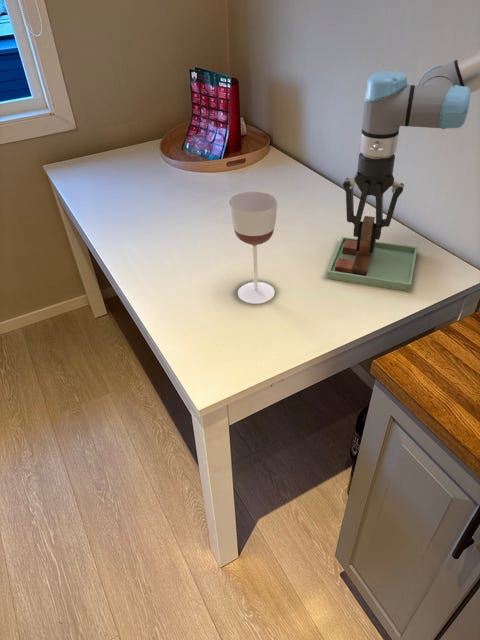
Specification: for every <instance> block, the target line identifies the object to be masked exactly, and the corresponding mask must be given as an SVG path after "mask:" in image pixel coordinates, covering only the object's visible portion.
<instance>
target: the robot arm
mask: <svg viewBox="0 0 480 640" xmlns="http://www.w3.org/2000/svg"><path fill="white" fill-rule="evenodd" d="M477 91H480V47H479V48H477V49H474V50H473V51H470V52H469V53H466V54H464V55H463V56H461V57H458V58H457V59H455V60H453V61H450V62H449V63H446V64H444V65H435V66H432V67H430V68H429V69H427V70H426V71H425V72H424V73H423V74H422V76H421V78H420V80H419V82H418V85H415V84H408V76H407V74H405V73H404V72H402V71H394V70H384V71H377V72H374V73H372V74H371V75H370V76H369V77H368V78H367V82H366V87H365V95H364V99H363V112H362V123H361V134H360V142H359V152H360V153H359V154H358V161H357V171H356V173H355V174H354V176H353V177H350V178H349V177H346V178H345V179H344V181H343V182H342V187H343V189H344V192H345V207H346V222H347V223H352V224H353V226H354V227H353V233H352V236H353V238H356V239H357V247H356V251H359V248H360V240H361V231H362V222H363V220H362V219H363V214H364V210H365V206H366V202H367V199H368V197H369V196H373V197H375V222H374V225H373V228H372V235H371V243H370V251H369V253H372V252H373V249H374V244H375V239H376V241H377V240H378V241H379V240H380V238H381V235H382V229H383V228H384V227H385V228H388V227H390V225H391V222H392V219H393V215H394V212H395V210H396V209H395V208H396V205H397V202H398V199H399V197H400V195H401V194H402V193H403V191H404V188H405V184H404V183H403V182H401V183H399V182H398V181H395V177H394V167H395V161H396V155H395V154H396V152H397V148H398V141H399V135H400V127H412V128H426V129H427V128H429V129H441V130H446V129H460V128H461V127H463V126H464V124H465V122H466V119H467V117H468V116H467V115H468V112H469V108H470V102H471V94H473V93H476V92H477ZM355 184H356V186H357V188H358V190H359V191H360V197H359V202H358V206H357V211H356V215H355V213H354V212H355V206H354V203H355V202H354V188H355ZM390 188H391V193H392V195H391V196H392V197H391V199H390V203H389V206H388V210H387V213H386V217H385V218H384V193H386V192H387V191H388V190H389V189H390Z"/></svg>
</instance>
